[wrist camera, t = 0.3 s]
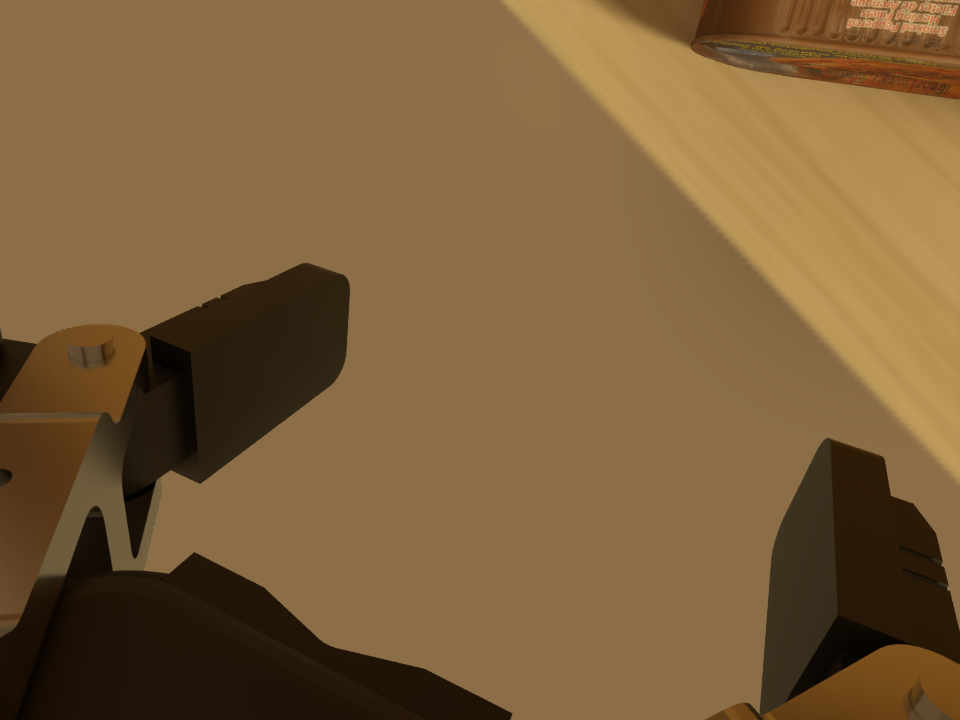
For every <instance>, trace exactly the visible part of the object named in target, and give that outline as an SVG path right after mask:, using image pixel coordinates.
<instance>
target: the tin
mask: <svg viewBox="0 0 960 720" xmlns="http://www.w3.org/2000/svg"><path fill="white" fill-rule="evenodd" d="M691 49H692V50H693V51H694V52H695V53H697V54H699V55H701V56H704V57H706V58H709V59H712V60H715V61H718V62H721V63H724V64H727V65H731V66H734V67H738V68H742V69H748V70H753V71H758V72H764V73H772V74H777V75H783V76H789V77H797V78H804V79H811V80H818V81H827V82H834V83H841V84H849V85H856V86H864V87H871V88H878V89H886V90H893V91H900V92H907V93H914V94H922V95H930V96H937V97H945V98H952V99H960V0H705V2H704V5H703V9H702V13H701V17H700V21H699V25H698V29H697V33H696V36H695V39H694V40H693V41H692V43H691Z"/></svg>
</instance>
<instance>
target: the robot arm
mask: <svg viewBox="0 0 960 720" xmlns="http://www.w3.org/2000/svg"><path fill="white" fill-rule="evenodd" d="M349 297H350V286H349V282H348V280H347V278H346V277H345V276H344V275H342V274H339V273H336V272H333V271H330V270H327V269H324V268H321V267H318V266H315V265H312V264H310V263H303V264H300V265H298V266H296V267H294V268H291V269H289V270H287V271H285V272H283V273H281V274H279V275H277V276H274V277H272V278H270V279H268V280H266V281H261V282H256V283H251V284H247V285H243V286H240V287H238V288H236V289H234V290H232V291H229V292H227V293H225V294H223V295H221V298H220V299H219V298H214V299H212V300H210V301H208V302H206V303H204V304H202V307H198V306H197V307H195V308H193V309H191V310H189V311H186V312H184V313H182V314H180V315H178V316H175V317H173V318H171V319H169V320H167V321H165V322H162V323H160V324H158V325H156V326H154V327H152V328H150V329H147V330H145V331H143V332H141V333H138V332H136V331H134V330H132V329H129V328H127V327H123V326H118V325H110V324H91V325H82V326H76V327H71V328H67V329H63V330H61V331H57V332H55V333H53V334H50V335H49V336H47V337H45V338H44V339H42V340H41V341H40V342H39V343H38V344H33V343H27V342H21V341H13V340H8V339H2V335H1V331H0V720H511V717H512V713H511V712H508V711H506V710H505V709H503V708H501V707H499V706H497V705H495V704H493V703H491V702H489V701H487V700H485V699H483V698H481V697H479V696H477V695H475V694H473V693H471V692H469V691H467V690H465V689H463V688H461V687H459V686H457V685H455V684H453V683H451V682H449V681H447V680H446V679H443V678H442V677H439V676H438V675H436V674H434V673H432V672H430V671H428V670H426V669H423V668H418V667H414V666H410V665H406V664H401V663H397V662H393V661H389V660H385V659H380V658H376V657H372V656H368V655H363V654H359V653H355V652H351V651H346V650H342V649H338V648H334V647H331V646H329V645H327V644H325V643H323V642H322V641H321V640H319V639H318V638H317V637H316V636H315V635H314V634H313V633H312V632H311V631H310V630H309V629H308V628H307V627H306V626H305V625H303V624H302V623H301V622H300V621H299V620H298V619H297V618H296V617H295V616H294V615H293V614H292V613H291V612H289V611H288V610H287V609H286V608H285V607H284V606H283V605H282V604H281V603H280V602H279V601H278V600H277V599H276V598H275V597H273V596H272V595H271V594H270V593H269V592H268V591H267V590H266V589H265V588H264V587H262V586H260V585H258V584H256V583H254V582H252V581H250V580H248V579H246V578H244V577H242V576H240V575H238V574H236V573H234V572H232V571H230V570H228V569H226V568H224V567H222V566H220V565H219V564H217V563H215V562H213V561H210V560H209V559H207V558H205V557H203V556H201V555H199V554H197V553H195V552H194V553H193V554H192V555H190V556H189V557H188V558H187V559H186V560H185V561H184V562H182V563H181V564H180V565H179V566H178V567H176V568H175V569H174V570H173V571H172V572H171V573H169V574H167V573H159V572H150V571H144V570H145V565H146V561H147V557H148V552H149V548H150V543H151V539H152V534H153V531H154V526H155V521H156V517H157V513H158V509H159V504H160V500H161V496H162V485H161V477H162V476H163V475H164V474H166V473H167V472H169V471H170V470H172V471H174V472H176V473H178V474H180V475H182V476H184V477H187V478H189V479H191V480H193V481H195V482H197V483H200V484H201V483H202V482H203V481H205V480H206V479H207V478H209V477H210V476H211V475H213V474H214V473H215V472H217V471H218V470H219V469H220V468H222V467H223V466H225V465H226V464H227V463H228V462H230V461H231V460H233V459H234V458H235V457H237V456H238V455H239V454H241V453H242V452H243V451H245V450H246V449H247V448H249V447H250V446H251V445H252V444H254V443H255V442H256V441H258V440H259V439H260V438H262V437H263V436H264V435H266V434H267V433H268V432H269V431H271V430H272V429H274V428H275V427H276V426H278V425H279V424H280V423H282V422H283V421H284V420H286V419H287V418H288V417H290V416H291V415H292V414H294V413H295V412H296V411H298V410H299V409H300V408H301V407H303V406H304V405H306V404H307V403H308V402H309V401H311V400H312V399H313V398H315V397H316V396H317V395H319V394H320V393H321V392H323V391H324V390H325V389H327V388H328V387H329V386H331V385H332V384H333V383H334V382H335V380H336V379H337V378H338V376H339V374H340V372H341V370H342V368H343V365H344V362H345V357H346V348H347V331H348V314H349ZM942 562H943V561H942V557H941V552H940V548H939V544H938V540H937V536H936V533H935V532H934V530H933V529H932V528H931V526H930V525H929V524H928V522H927V521H926V520H925V518H924V517H923V516H922V514H921V513H920V512H919V511H918V509H917V508H916V507H915V505H914V504H913V503H910V502H907V501H904V500H901V499H898V498H895V497H892V496H891V494H890V488H889V482H888V477H887V471H886V464H885V460H884V458H883V457H882V456H880V455H877V454H874V453H871V452H868V451H865V450H862V449H859V448H856V447H853V446H850V445H847V444H844V443H841V442H838V441H835V440H832V439H829V438H826V439H825V440H824V441H823V442H822V443H821V445H820V446H819V448H818V450H817V452H816V454H815V456H814V458H813V460H812V462H811V464H810V466H809V468H808V470H807V472H806V474H805V476H804V478H803V480H802V482H801V484H800V486H799V488H798V490H797V492H796V494H795V496H794V498H793V500H792V502H791V504H790V506H789V508H788V510H787V512H786V514H785V517H784V518H783V521H782V523H781V525H780V528H779V531H778V534H777V537H776V540H775V543H774V547H773V552H772V559H771V570H770V584H769V597H768V610H767V623H766V636H765V649H764V663H763V675H762V689H761V703H760V715H759V713H758V712H757V711H756V710H755V709H754V708H753V707H752V706H751V704H749V703H739V704H736V705H733V706H730V707H728V708H726V709H724V710H722V711H720V712H719V713H717V714H715V715H713V716H711V717H710V718H708V719H706V720H960V631H959V627H958V623H957V619H956V614H955V610H954V606H953V602H952V598H951V594H950V591H948V590H947V587H948V581H947V577H946V573H945V569H944V567H943V566H941V564H942Z"/></svg>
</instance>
